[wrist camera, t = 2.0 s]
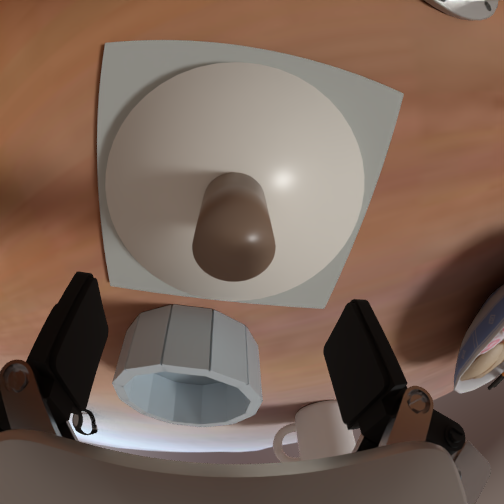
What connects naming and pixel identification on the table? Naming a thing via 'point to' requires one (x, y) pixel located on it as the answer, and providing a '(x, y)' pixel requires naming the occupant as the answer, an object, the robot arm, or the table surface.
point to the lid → (234, 181)
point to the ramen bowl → (482, 347)
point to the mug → (317, 433)
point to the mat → (206, 53)
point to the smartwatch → (79, 420)
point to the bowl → (189, 367)
